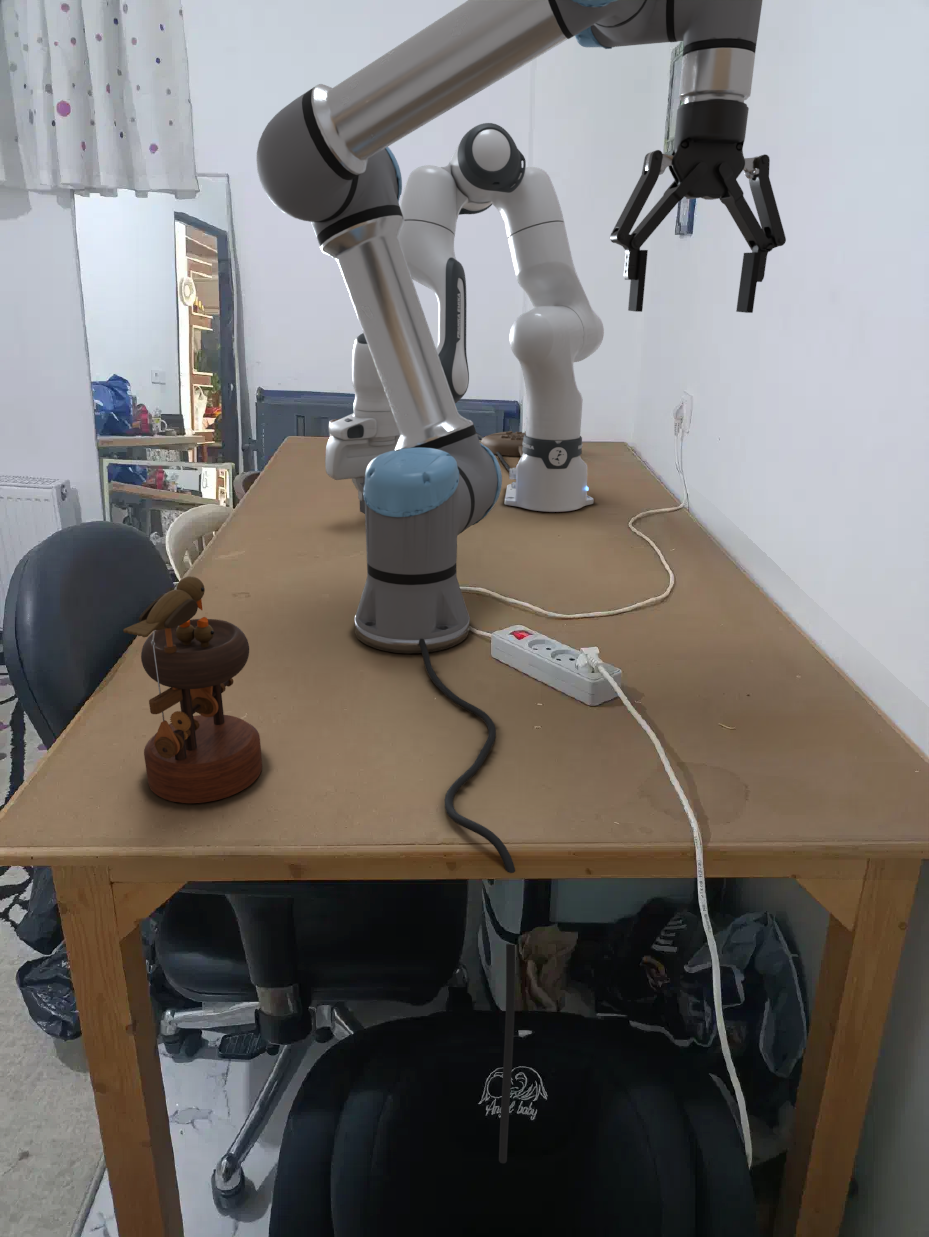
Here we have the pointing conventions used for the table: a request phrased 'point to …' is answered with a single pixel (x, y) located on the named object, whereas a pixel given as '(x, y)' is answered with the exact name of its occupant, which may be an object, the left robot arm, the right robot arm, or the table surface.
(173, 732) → the music box
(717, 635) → the table surface
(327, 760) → the table surface
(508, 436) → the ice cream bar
